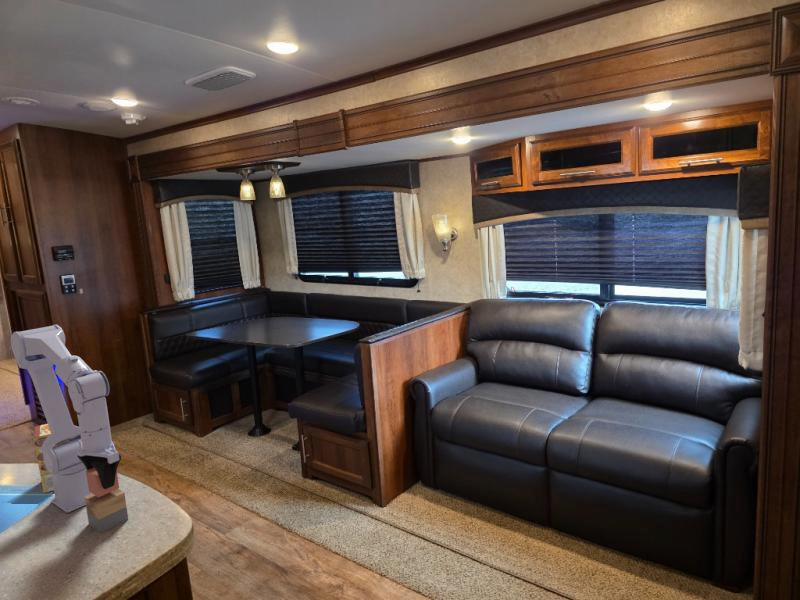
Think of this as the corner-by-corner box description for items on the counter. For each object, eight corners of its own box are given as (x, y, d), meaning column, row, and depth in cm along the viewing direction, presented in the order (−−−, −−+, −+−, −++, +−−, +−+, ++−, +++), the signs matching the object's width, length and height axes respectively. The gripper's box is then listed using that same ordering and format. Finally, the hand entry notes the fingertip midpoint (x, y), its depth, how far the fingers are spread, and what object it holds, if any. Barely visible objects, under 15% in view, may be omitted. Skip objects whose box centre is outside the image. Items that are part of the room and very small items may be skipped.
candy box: (62, 488, 134) (52, 433, 132) (42, 494, 132) (32, 437, 129) (61, 474, 142) (52, 422, 139) (43, 479, 139) (33, 426, 137)
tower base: (89, 524, 118) (86, 510, 118) (115, 511, 123) (113, 498, 122) (101, 533, 115) (99, 519, 114) (128, 520, 119) (126, 506, 119)
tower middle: (86, 510, 118) (84, 496, 117) (113, 498, 122) (111, 484, 122) (98, 519, 114) (96, 505, 113) (126, 506, 119) (124, 492, 118)
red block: (89, 491, 117) (85, 471, 116) (109, 482, 120) (106, 462, 119) (98, 497, 114) (95, 476, 113) (119, 488, 118) (116, 467, 117)
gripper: (60, 426, 116) (70, 482, 118) (90, 441, 107) (100, 501, 110) (94, 415, 121) (102, 469, 124) (125, 429, 113) (133, 486, 115)
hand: (103, 483), depth 117 cm, fingers closed on red block, 4 cm apart
